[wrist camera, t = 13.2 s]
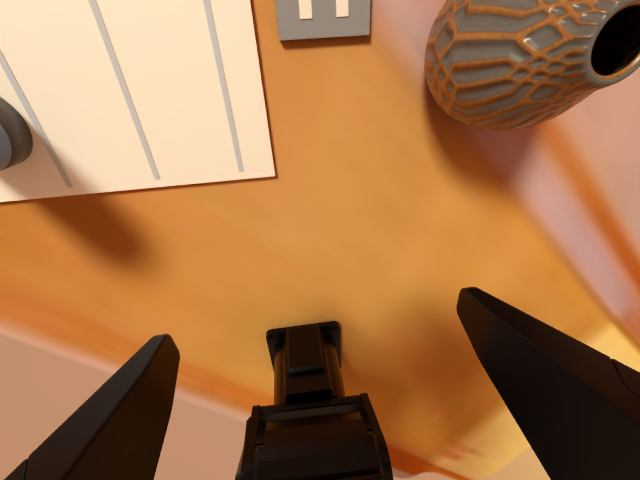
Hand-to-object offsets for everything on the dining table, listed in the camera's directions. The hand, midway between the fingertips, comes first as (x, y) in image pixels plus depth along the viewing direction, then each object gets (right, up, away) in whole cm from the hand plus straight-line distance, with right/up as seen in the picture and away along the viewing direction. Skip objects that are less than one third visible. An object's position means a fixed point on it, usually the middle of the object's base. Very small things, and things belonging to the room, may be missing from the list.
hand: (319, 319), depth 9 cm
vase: (+8, +13, +7) cm, 17 cm away
